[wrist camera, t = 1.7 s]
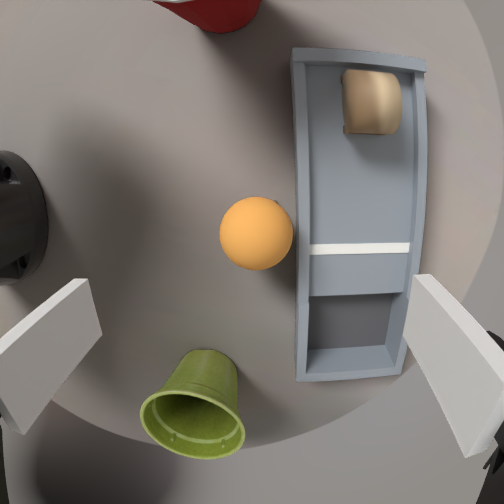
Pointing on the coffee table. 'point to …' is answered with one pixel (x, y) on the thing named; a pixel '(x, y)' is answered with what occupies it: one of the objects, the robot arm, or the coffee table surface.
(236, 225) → the ball
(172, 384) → the plant pot
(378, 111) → the block
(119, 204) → the coffee table surface
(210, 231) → the coffee table surface
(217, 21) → the plastic cup
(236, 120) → the coffee table surface
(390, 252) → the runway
